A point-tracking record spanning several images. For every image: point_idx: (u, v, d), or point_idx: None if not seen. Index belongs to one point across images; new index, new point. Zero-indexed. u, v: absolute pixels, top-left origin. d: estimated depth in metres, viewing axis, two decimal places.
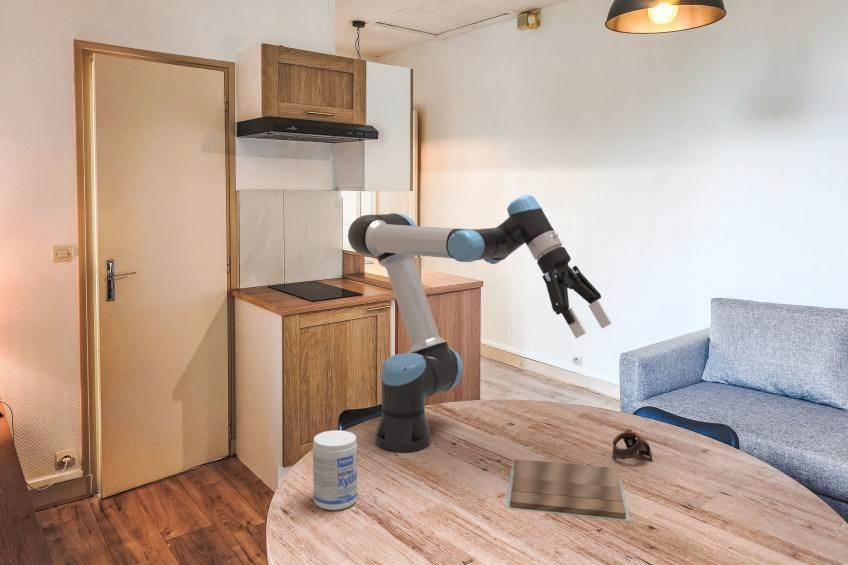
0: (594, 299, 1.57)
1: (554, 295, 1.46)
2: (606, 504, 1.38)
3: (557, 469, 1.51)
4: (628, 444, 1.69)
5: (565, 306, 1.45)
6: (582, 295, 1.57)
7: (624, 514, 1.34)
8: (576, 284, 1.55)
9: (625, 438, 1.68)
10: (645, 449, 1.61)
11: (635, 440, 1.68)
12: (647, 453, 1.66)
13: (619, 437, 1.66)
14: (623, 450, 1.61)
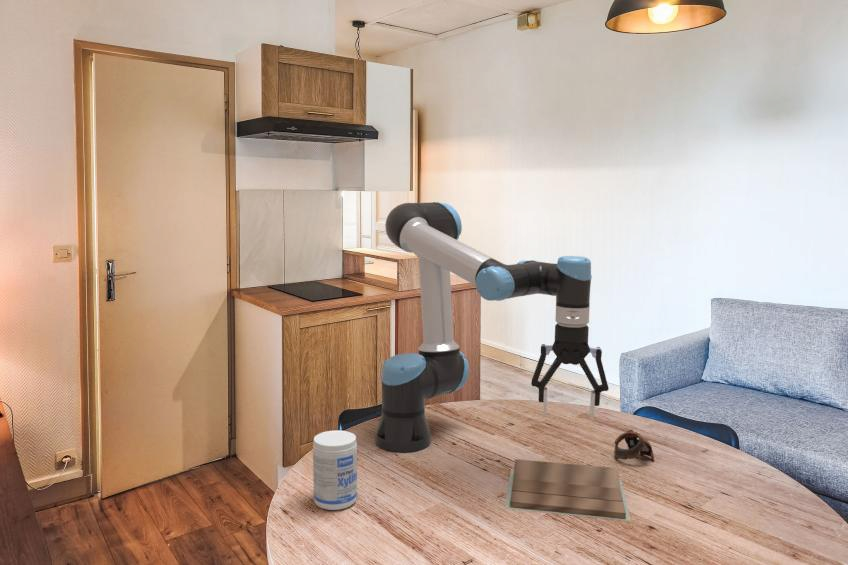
0: (594, 390, 1.48)
1: (535, 370, 1.50)
2: (606, 504, 1.38)
3: (557, 469, 1.51)
4: (630, 445, 1.68)
5: (539, 386, 1.50)
6: None
7: (624, 514, 1.34)
8: None
9: (627, 438, 1.68)
10: (647, 449, 1.61)
11: (637, 440, 1.67)
12: (649, 453, 1.66)
13: (621, 437, 1.66)
14: (625, 450, 1.61)
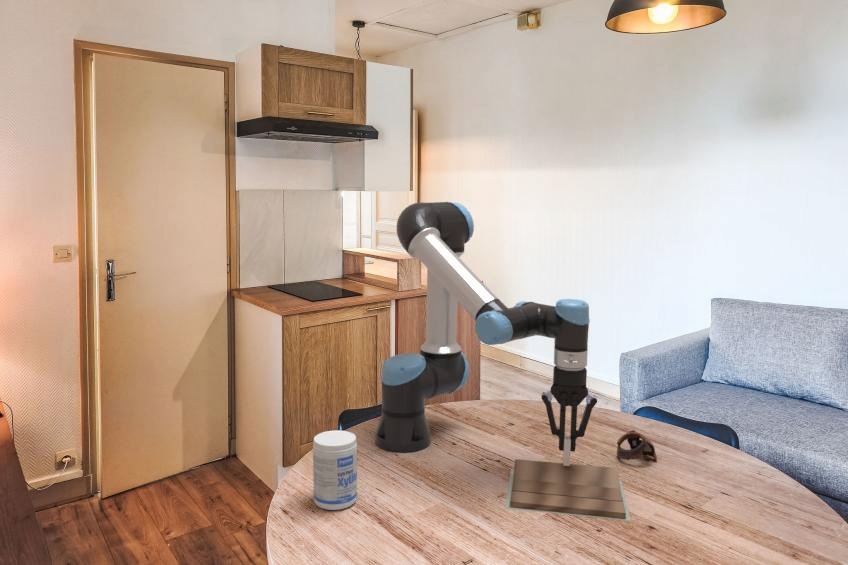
0: (570, 436, 1.50)
1: None
2: (606, 504, 1.38)
3: (557, 469, 1.51)
4: (632, 445, 1.68)
5: (559, 436, 1.50)
6: None
7: (624, 514, 1.34)
8: (571, 408, 1.49)
9: (629, 439, 1.67)
10: (650, 450, 1.60)
11: (639, 441, 1.67)
12: (651, 454, 1.66)
13: (623, 438, 1.66)
14: (627, 450, 1.60)
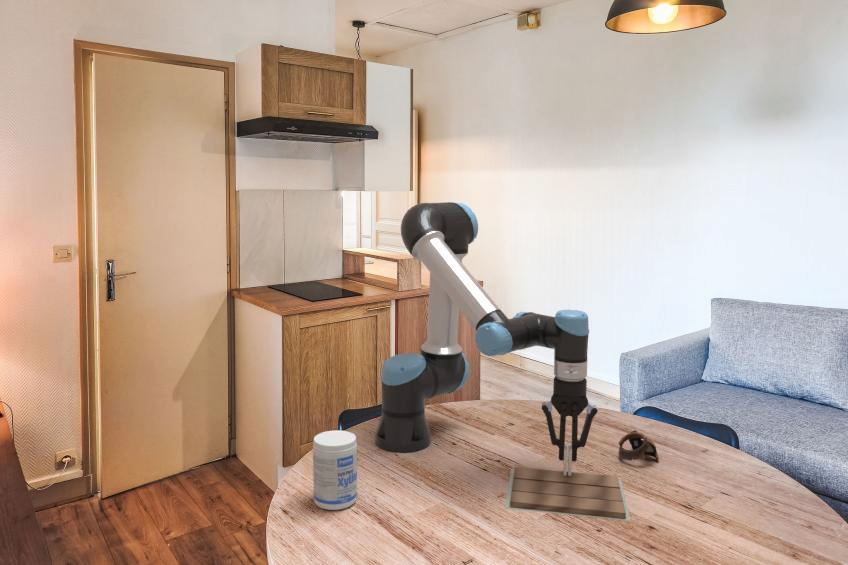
0: (571, 446, 1.51)
1: None
2: (606, 504, 1.38)
3: (557, 474, 1.52)
4: (634, 445, 1.68)
5: (559, 446, 1.51)
6: None
7: (624, 514, 1.34)
8: None
9: (631, 439, 1.67)
10: (652, 450, 1.60)
11: (641, 441, 1.67)
12: (653, 454, 1.65)
13: (625, 438, 1.65)
14: (629, 451, 1.60)
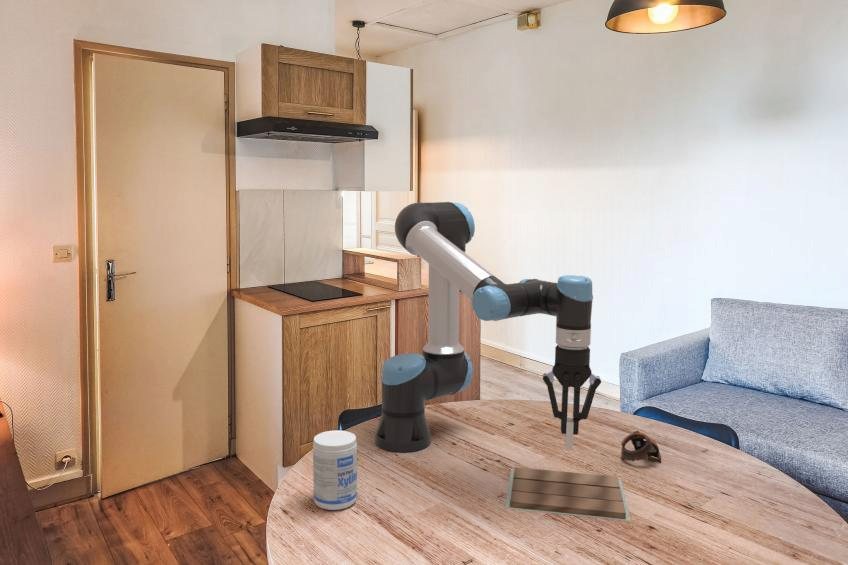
0: (573, 418, 1.44)
1: None
2: (606, 504, 1.38)
3: (557, 474, 1.52)
4: (636, 446, 1.68)
5: (562, 419, 1.44)
6: (573, 402, 1.45)
7: (624, 514, 1.34)
8: (574, 389, 1.43)
9: (633, 439, 1.67)
10: (654, 450, 1.60)
11: (643, 441, 1.67)
12: (655, 454, 1.65)
13: (628, 439, 1.65)
14: (632, 451, 1.60)
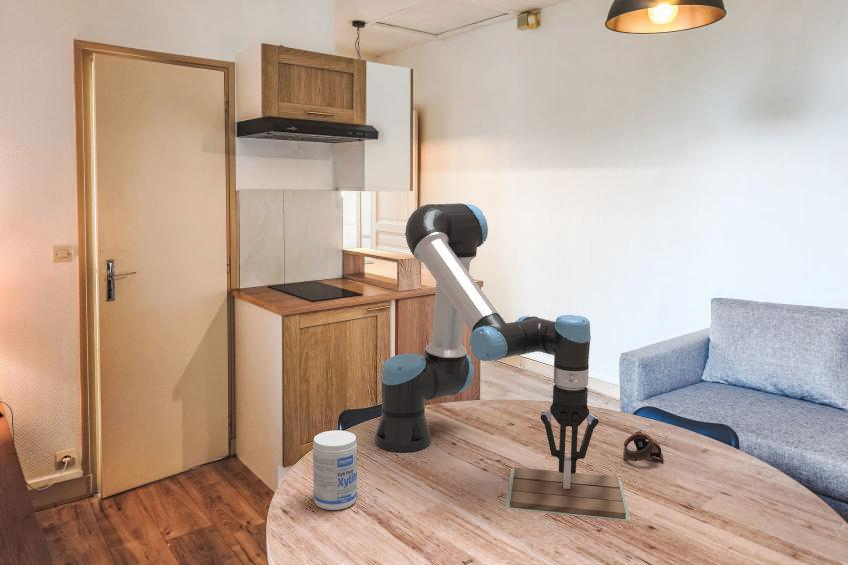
0: (570, 457, 1.44)
1: None
2: (606, 504, 1.38)
3: (557, 474, 1.52)
4: (639, 446, 1.68)
5: None
6: (571, 441, 1.45)
7: (624, 514, 1.34)
8: None
9: (635, 440, 1.67)
10: (657, 451, 1.60)
11: (645, 442, 1.67)
12: (658, 455, 1.65)
13: (630, 439, 1.65)
14: (635, 452, 1.60)
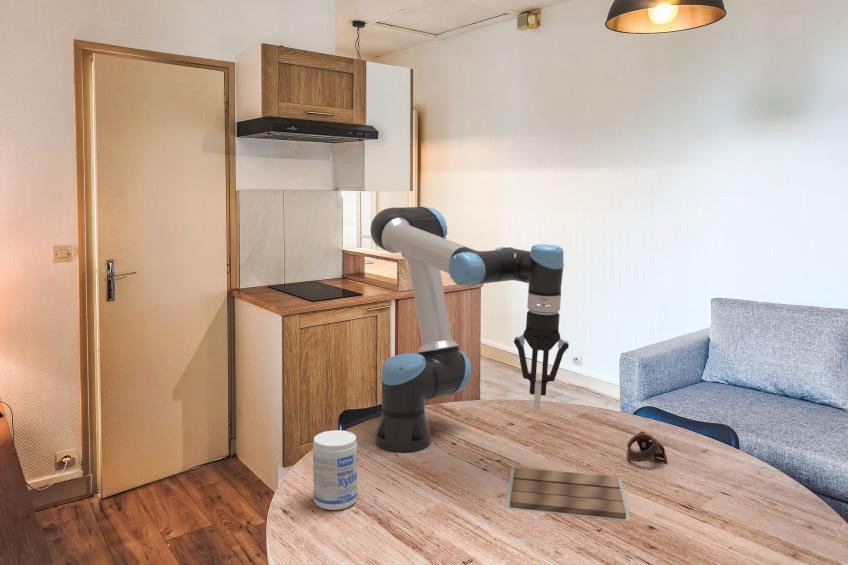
0: None
1: None
2: (606, 504, 1.38)
3: (557, 474, 1.52)
4: (642, 447, 1.67)
5: (531, 380, 1.52)
6: None
7: (624, 514, 1.34)
8: None
9: (639, 440, 1.66)
10: (661, 451, 1.59)
11: (649, 442, 1.66)
12: (661, 455, 1.65)
13: (633, 439, 1.64)
14: (638, 452, 1.59)
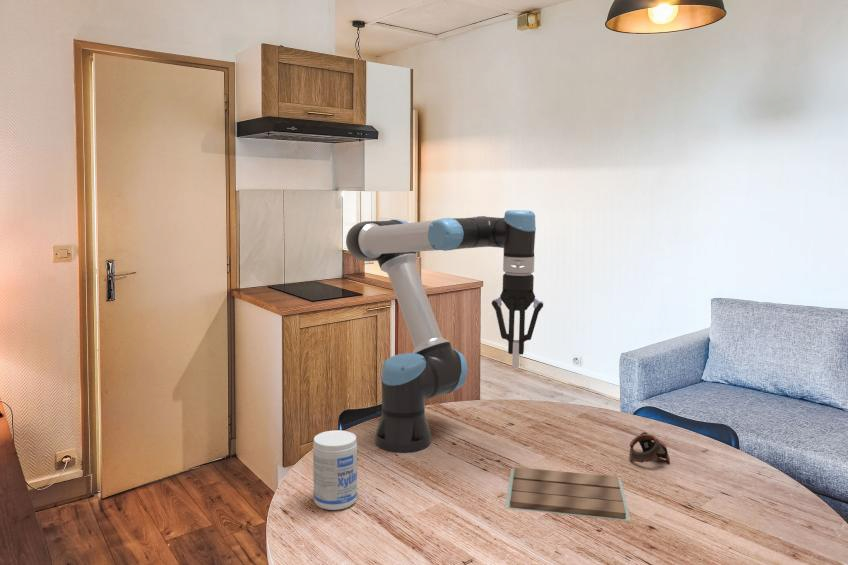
0: None
1: None
2: (606, 504, 1.38)
3: (557, 474, 1.52)
4: (644, 447, 1.67)
5: (509, 340, 1.60)
6: None
7: (624, 514, 1.34)
8: None
9: (641, 441, 1.66)
10: (663, 452, 1.59)
11: (651, 443, 1.66)
12: (664, 456, 1.64)
13: (636, 440, 1.64)
14: (641, 453, 1.59)
